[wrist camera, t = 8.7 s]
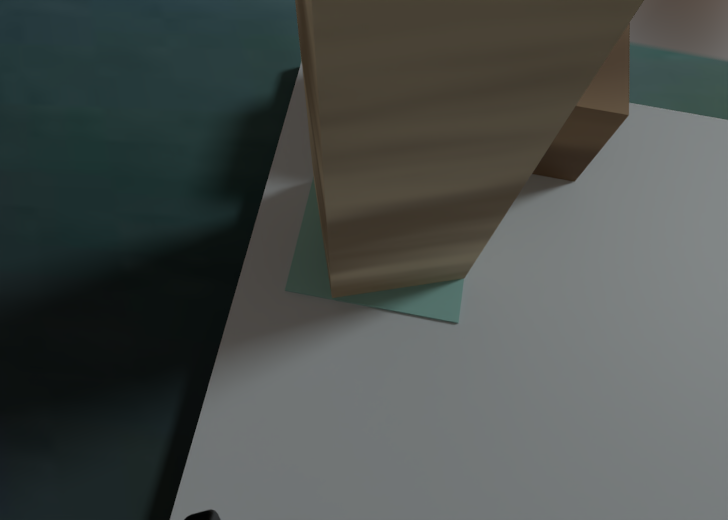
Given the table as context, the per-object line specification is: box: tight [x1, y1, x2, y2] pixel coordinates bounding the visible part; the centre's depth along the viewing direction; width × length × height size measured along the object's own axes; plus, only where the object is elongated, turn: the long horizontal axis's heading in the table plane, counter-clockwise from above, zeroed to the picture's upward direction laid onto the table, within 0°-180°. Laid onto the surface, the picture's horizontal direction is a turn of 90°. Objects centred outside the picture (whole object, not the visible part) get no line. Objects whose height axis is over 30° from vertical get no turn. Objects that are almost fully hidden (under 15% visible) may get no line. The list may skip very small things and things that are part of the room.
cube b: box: [532, 23, 630, 182], centre depth 19 cm, size 4×4×4 cm
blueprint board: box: [170, 62, 728, 520], centre depth 18 cm, size 22×17×1 cm
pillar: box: [295, 0, 644, 298], centre depth 13 cm, size 4×4×13 cm
